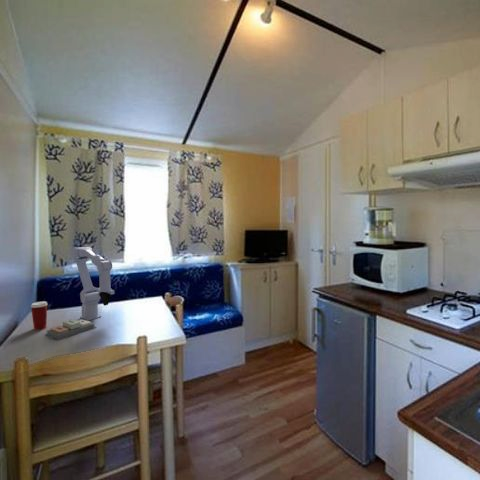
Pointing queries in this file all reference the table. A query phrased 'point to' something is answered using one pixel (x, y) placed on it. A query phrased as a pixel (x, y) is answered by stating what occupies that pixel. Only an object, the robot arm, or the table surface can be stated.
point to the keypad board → (70, 332)
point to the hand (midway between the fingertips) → (105, 305)
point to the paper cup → (39, 315)
